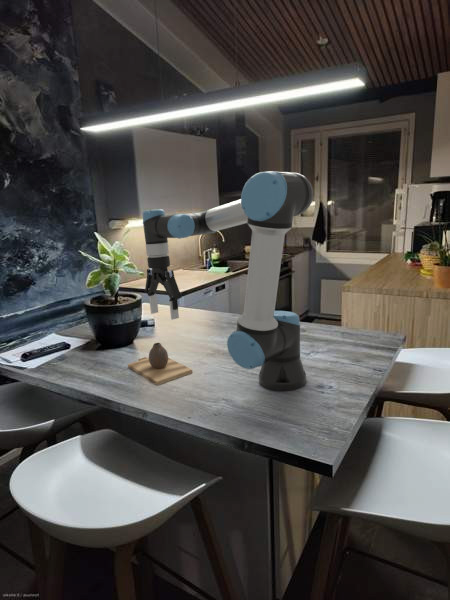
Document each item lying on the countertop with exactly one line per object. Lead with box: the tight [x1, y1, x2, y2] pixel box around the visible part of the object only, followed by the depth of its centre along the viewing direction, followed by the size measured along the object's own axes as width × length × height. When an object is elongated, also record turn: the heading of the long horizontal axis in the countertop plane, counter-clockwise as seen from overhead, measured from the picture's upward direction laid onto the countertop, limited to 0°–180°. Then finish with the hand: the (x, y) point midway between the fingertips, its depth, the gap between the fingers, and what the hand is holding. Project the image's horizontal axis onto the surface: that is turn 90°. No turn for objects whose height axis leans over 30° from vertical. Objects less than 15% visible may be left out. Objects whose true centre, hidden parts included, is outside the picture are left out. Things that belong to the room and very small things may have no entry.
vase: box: [148, 342, 169, 369], centre depth 146 cm, size 7×7×9 cm
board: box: [127, 356, 193, 386], centre depth 148 cm, size 24×14×1 cm, turn 38°
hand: (164, 315), depth 144 cm, fingers open, 13 cm apart
